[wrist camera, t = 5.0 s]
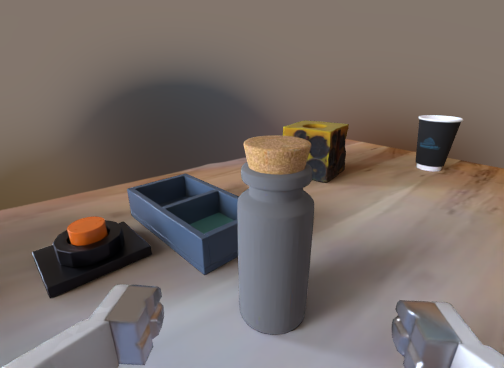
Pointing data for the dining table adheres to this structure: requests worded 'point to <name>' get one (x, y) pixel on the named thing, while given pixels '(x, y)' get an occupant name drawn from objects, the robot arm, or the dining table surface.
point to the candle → (322, 146)
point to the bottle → (274, 233)
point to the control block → (88, 258)
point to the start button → (87, 231)
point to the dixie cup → (435, 140)
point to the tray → (189, 218)
